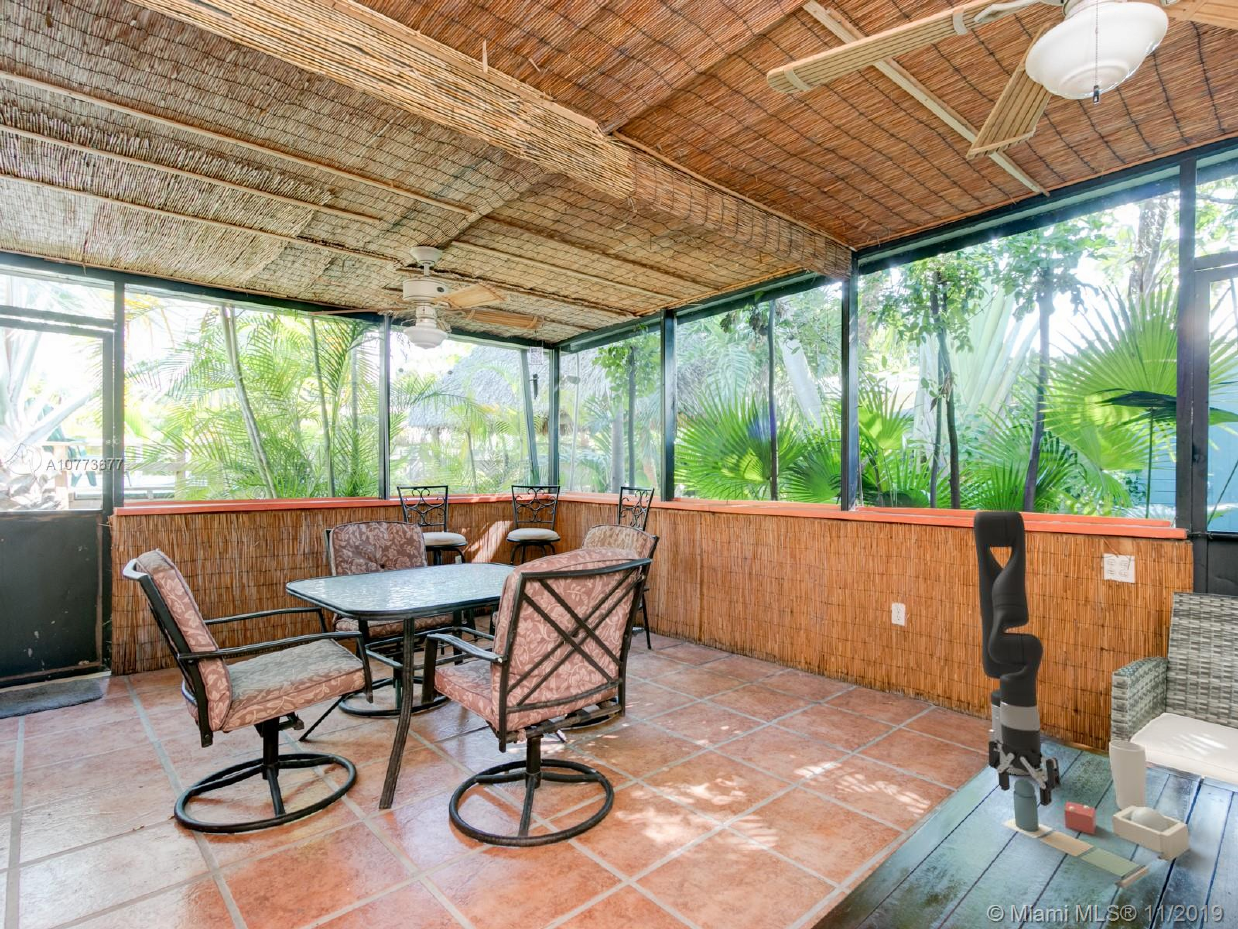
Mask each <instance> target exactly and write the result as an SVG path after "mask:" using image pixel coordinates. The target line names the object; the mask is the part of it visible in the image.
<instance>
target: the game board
mask: <svg viewBox="0 0 1238 929" xmlns="http://www.w3.org/2000/svg"><path fill="white" fill-rule="evenodd" d="M1001 825H1003V826H1005V827H1007V828H1009V829H1012V830H1014V831H1016V832H1018V833H1021V834H1024V835H1025V836H1027V837H1030V838H1032V839H1034V840H1035V839H1037V838H1040V837H1042V836H1043V835H1045V834H1047V833H1049V832H1051V831H1053V830H1054V828H1052V827H1049V826H1046V825H1045V824H1042V823H1040V822H1038V825H1039V830H1038V831H1035V832H1030V831H1025V830H1022V829H1020V828H1018V827H1017V826H1016V825H1015V817H1013V818H1011V819H1009V820H1006V821H1004V822H1002V823H1001ZM1038 841H1039V842H1041V843H1044V844H1046V845H1047V846H1051V847H1053V848H1055V849H1057V850H1059V851H1062V852H1064V853H1066V854H1068V855H1071V856H1073V857H1076V858H1077V857H1078V856H1080V855H1082V854H1084V853H1085V852H1088V851H1089V850H1091V849H1093V848H1094V847H1095V846H1094V845H1092V844H1090V843H1088V842H1085V841H1082V840H1080V839H1078V838H1076V837H1073V836H1070V835H1068V834H1065V833H1063V832H1061V831H1058V830H1056V831H1054V832H1052V833H1050V834H1048V835H1046V836H1044V837H1043V838H1040V839H1038ZM1080 860H1082V861H1084V862H1087V863H1088V864H1091V865H1094V866H1095V867H1096V866H1097V867H1098V868H1100V869H1103V870H1106V871H1108V872H1110V873H1112V874H1114V875H1117V876H1119V877H1123V878H1122V879H1120V880H1119V881H1117V882H1115V883H1114V885H1116V886H1118V887H1120V888H1121V889H1125V888H1127V887H1128V886H1130V885H1131V884H1133V883H1135V882H1136V881H1138V880H1139V879H1141V878H1142V877H1144V876H1145V875H1147V874H1149V873H1150V866H1148V865H1145V864H1144V865H1143V866H1141V865H1140V864H1138V863H1135V862H1133V861H1131V860H1129V859H1126V858H1123V857H1122V856H1119V855H1118V854H1117V855H1116V854H1114V853H1111V852H1109V851H1107V850H1104V849H1103V848H1100V847H1098V848H1096V849H1095V850H1093V851H1091V852H1089V853H1087V854H1085V855H1084V856H1082V857H1080ZM1135 869H1136V870H1135ZM1133 870H1134V871H1133ZM1132 871H1133V872H1132ZM1130 872H1131V873H1130ZM1129 873H1130V874H1129ZM1127 874H1128V875H1127ZM1125 875H1127V876H1125ZM1124 876H1125V877H1124Z"/></svg>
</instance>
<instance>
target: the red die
mask: <svg viewBox="0 0 1238 929" xmlns="http://www.w3.org/2000/svg"><path fill="white" fill-rule="evenodd" d="M1096 821H1097V820H1096V808H1095V807H1092V806H1089V805H1083V804H1080V803H1075V802H1072V801H1067V802H1066V805H1065V808H1064V824H1065V828H1066V829H1070V830H1075V831H1078V832H1082V833H1085V834H1090V835H1093V836H1094V834H1095V831H1096V827H1097V822H1096Z"/></svg>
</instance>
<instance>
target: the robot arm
mask: <svg viewBox="0 0 1238 929" xmlns="http://www.w3.org/2000/svg"><path fill="white" fill-rule="evenodd" d="M1025 527H1026V526H1025V521H1024V518H1023V515H1022V514H1021V513H1020V511H1016V510H991V511H989V510H987V511H979V512H976V513H975V515H974V517H973V537H974V541H975V542H974V544H975V550H976V558H977V568H978V595H979V598H978V599H979V607H980V608H979V609H980V618H981V633H982V634H981V636H982V637H981V639H982V640H981V661H982V663H981V664H982V669H983V673H984V674H985V675H986V676H987V677H988V678H990V679H995V680H999V681H998V682H999V688H997V689H994V690H992V691H991V693H990V708H991V710H990V711H991V722H992V724H991V725H992V728H991V729H990V730H988V732H989V741H988V765H989V767H990V768H994V769H995V770H996V772H997V773H998V784H999V786H1000V789H1001V790H1002V791H1004V792H1005V791H1008V790H1010V789H1011V787H1010V786H1011V784H1010V773H1011V775H1014V774H1016V775H1015V776H1031V777H1032V778H1033V779H1035V781H1036V782H1037V784H1038V785H1039V788H1038V789H1039V799H1040V802H1039V803H1040V805H1041V806H1043V807H1046V806H1049V805H1050V803H1052V802H1053V799H1052V790H1055V789H1058V788H1059V787H1061V786H1062V783H1061V782H1062V781H1061V775H1060V774H1061V773H1060V769H1059V760H1058V759H1057V758H1056V757H1051V758H1050V757H1047V756H1043V754H1042V736H1041V722H1040V713H1039V712H1040V711H1039V708H1038V699H1037V698H1038V697H1037V679H1038V674H1039V669H1040V666H1041V663H1042V659H1043V654H1044V647H1043V643H1042V641H1041V640H1040V639H1039V637H1038V636H1036V635H1035V634H1032V633H1019V632H1006V631H1007V630H1011V629H1015V628H1019V627H1023V626H1026V625H1027V624H1028V623H1029V621H1030V614H1029V609H1028V608H1029V606H1028V598H1027V593H1026V569H1027V568H1026V567H1027V564H1026V562H1027V558H1026V556H1027V555H1026V554H1027V550H1026V547H1027V546H1026V541H1027V540H1026V528H1025ZM991 548H1010V550H1011V551H1010V556H1009V558H1008V561H1007V562H1006V563H1005V566H1004V567H1003V566H1001V564H1000V563H999V562H998V561H997V559H996V558H995V556H994V554H993V552H992V550H991ZM1042 763H1043V764H1044V766H1042ZM1045 769H1046V770H1045Z"/></svg>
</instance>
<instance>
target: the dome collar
mask: <svg viewBox="0 0 1238 929" xmlns="http://www.w3.org/2000/svg"><path fill="white" fill-rule="evenodd" d="M1137 808H1139V807H1136V806H1133V805H1132V806H1130V807H1128V808H1126V809H1124V810H1120V811H1118V812H1116V813H1115V814H1113V815H1112V830H1113V834H1115V835H1118V837H1119V838H1121V839H1125V841H1126V840H1127V841H1129V842H1132V843H1134V844H1137V845H1139V846H1142V847H1144V848H1147V849H1150V850H1152V851H1155V852H1157V853H1160V855H1158V856H1157V857H1156V859H1159V860H1163V859H1164V860H1166V861H1168V862H1171V861H1173V860H1174V859H1177V857H1179V856H1180V855H1182V854H1183V853H1185V852H1186V851H1188V850H1189V849H1190V844H1189V843H1190V842H1189V831H1188V830H1189V829H1188V824H1187V823H1184V822H1182V821H1181V820H1179V819H1176V818H1174V817H1170V816H1167V815H1164V814H1162V813H1160V814H1161V815H1162V816H1163V817H1164V818H1165V820H1166V822H1167V825H1168V829H1167V830H1166V831H1164V832H1159V831H1156V830H1154V829H1151V828H1148V827H1146V826H1143V825H1140V824H1137V823H1135V822H1132V821H1131V816H1132V813H1133V811H1134V810H1135V809H1137Z"/></svg>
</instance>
